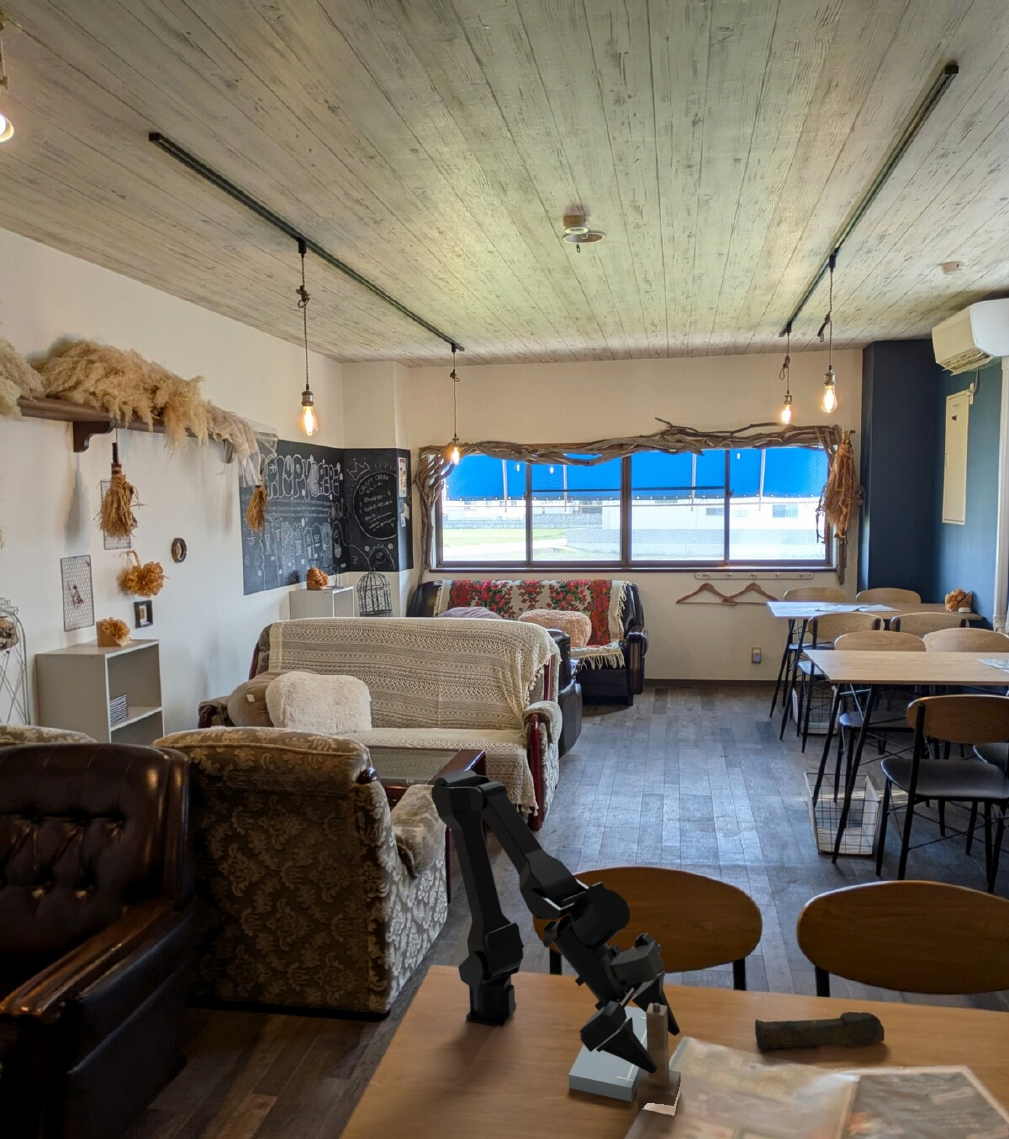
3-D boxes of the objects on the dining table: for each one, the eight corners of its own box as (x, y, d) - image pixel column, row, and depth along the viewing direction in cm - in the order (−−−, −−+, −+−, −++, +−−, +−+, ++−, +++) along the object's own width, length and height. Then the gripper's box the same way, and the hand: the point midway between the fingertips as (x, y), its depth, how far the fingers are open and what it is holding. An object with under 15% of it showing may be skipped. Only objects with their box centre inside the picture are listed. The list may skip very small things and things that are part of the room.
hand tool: (760, 1056, 128) (759, 1026, 128) (753, 1039, 132) (753, 1010, 132) (891, 1055, 127) (890, 1024, 127) (880, 1038, 131) (880, 1009, 131)
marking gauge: (637, 1108, 118) (634, 1011, 117) (645, 1085, 123) (642, 992, 122) (674, 1116, 116) (671, 1018, 115) (681, 1092, 121) (678, 998, 120)
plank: (569, 1087, 123) (568, 1073, 123) (604, 1013, 140) (604, 1001, 140) (631, 1101, 119) (631, 1087, 119) (660, 1024, 137) (659, 1011, 137)
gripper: (598, 955, 112) (684, 1062, 107) (649, 897, 128) (726, 987, 123) (546, 1000, 116) (626, 1104, 111) (602, 938, 132) (674, 1026, 128)
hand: (666, 1051), depth 118 cm, fingers open, 9 cm apart
